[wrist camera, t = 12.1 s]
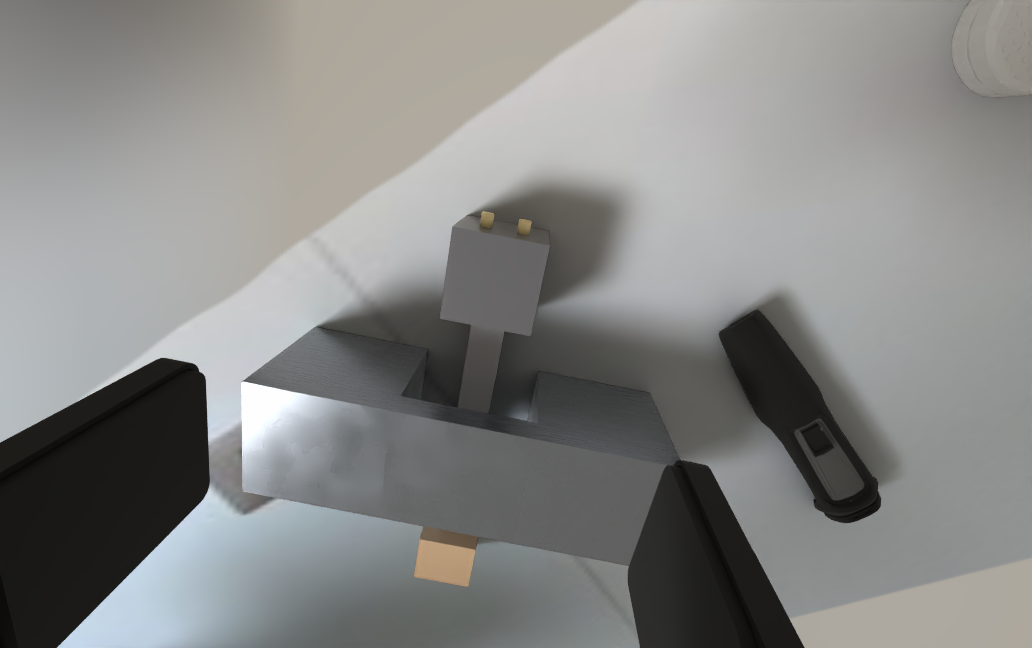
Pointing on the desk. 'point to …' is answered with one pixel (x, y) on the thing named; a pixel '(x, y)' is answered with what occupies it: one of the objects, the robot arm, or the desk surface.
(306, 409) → the block
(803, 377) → the electric trimmer
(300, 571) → the desk surface
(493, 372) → the lever
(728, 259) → the desk surface
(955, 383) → the desk surface
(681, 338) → the desk surface
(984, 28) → the electronic device
